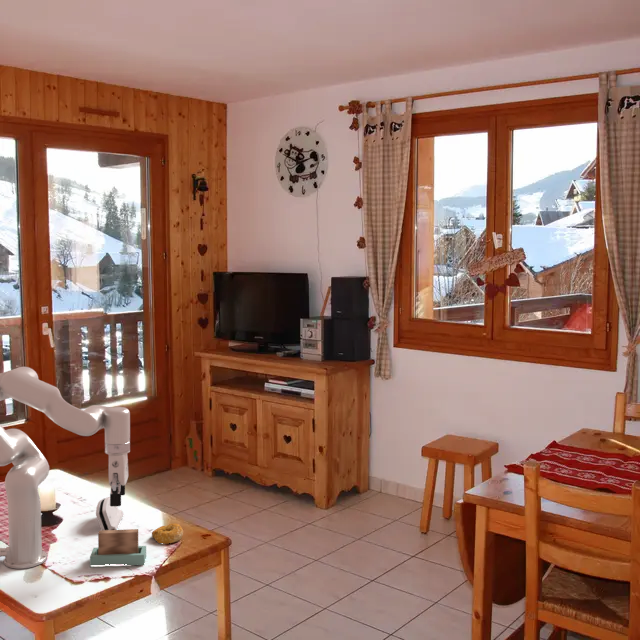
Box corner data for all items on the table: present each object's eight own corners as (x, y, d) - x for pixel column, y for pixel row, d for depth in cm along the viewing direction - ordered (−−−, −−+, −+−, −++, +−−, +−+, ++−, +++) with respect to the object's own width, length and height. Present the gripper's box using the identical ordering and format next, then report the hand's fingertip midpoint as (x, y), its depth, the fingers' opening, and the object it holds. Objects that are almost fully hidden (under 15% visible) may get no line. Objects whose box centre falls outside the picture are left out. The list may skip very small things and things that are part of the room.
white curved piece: (116, 532, 259) (106, 506, 258) (103, 537, 259) (93, 511, 258) (124, 514, 276) (114, 490, 275) (111, 519, 276) (102, 494, 274)
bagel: (163, 530, 262) (163, 517, 261) (189, 537, 257) (189, 524, 256) (145, 541, 253) (145, 527, 252) (171, 548, 248) (171, 534, 248)
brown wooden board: (98, 561, 234) (98, 533, 233) (99, 557, 236) (99, 530, 235) (137, 559, 236) (137, 532, 235) (138, 556, 238) (138, 529, 237)
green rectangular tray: (90, 567, 232) (90, 556, 231) (93, 558, 238) (93, 547, 238) (144, 565, 234) (144, 554, 233) (146, 556, 241) (146, 545, 240)
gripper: (126, 455, 224) (126, 510, 226) (133, 439, 241) (133, 490, 243) (100, 455, 223) (101, 510, 225) (109, 439, 240) (109, 491, 242)
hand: (117, 500), depth 234 cm, fingers open, 9 cm apart
